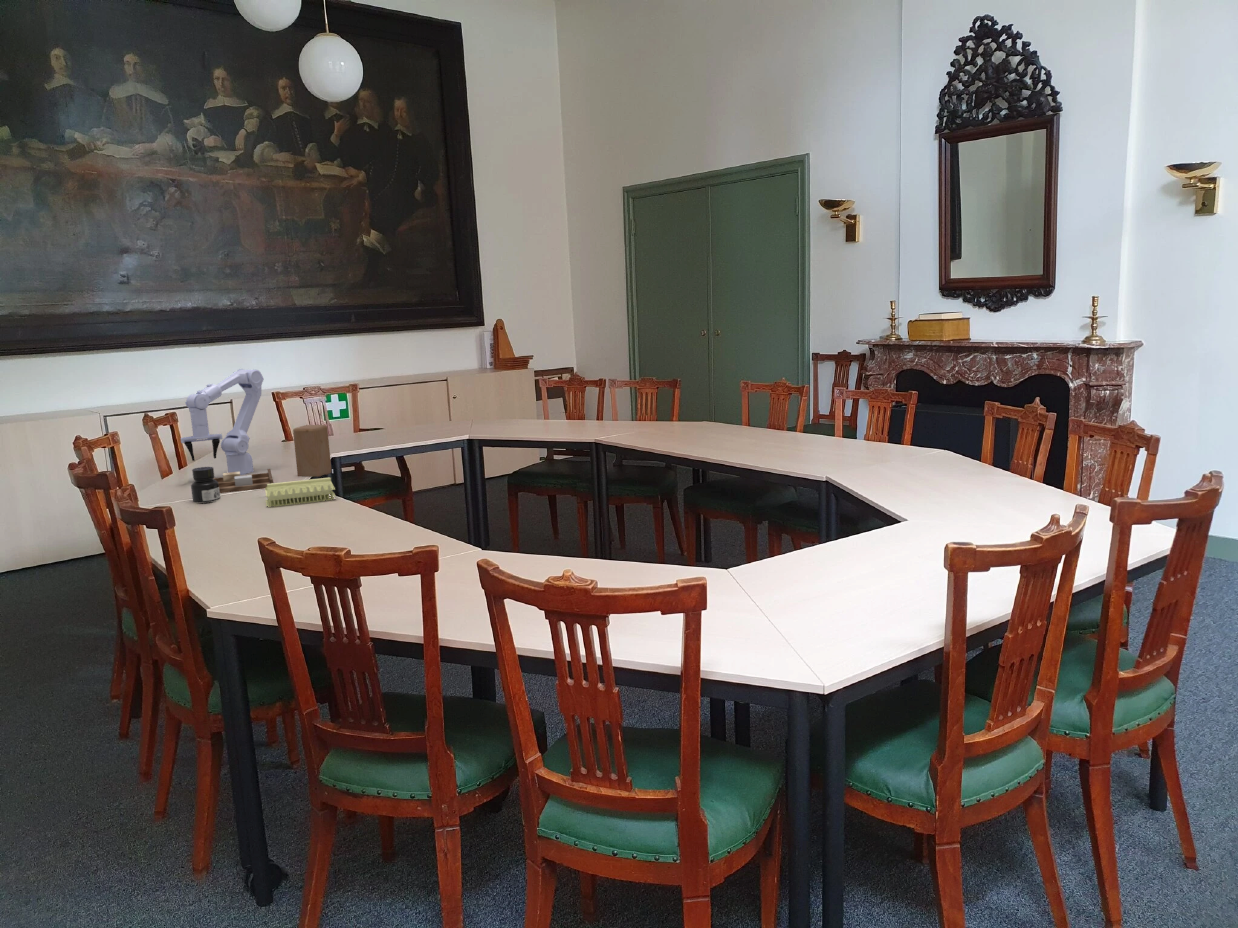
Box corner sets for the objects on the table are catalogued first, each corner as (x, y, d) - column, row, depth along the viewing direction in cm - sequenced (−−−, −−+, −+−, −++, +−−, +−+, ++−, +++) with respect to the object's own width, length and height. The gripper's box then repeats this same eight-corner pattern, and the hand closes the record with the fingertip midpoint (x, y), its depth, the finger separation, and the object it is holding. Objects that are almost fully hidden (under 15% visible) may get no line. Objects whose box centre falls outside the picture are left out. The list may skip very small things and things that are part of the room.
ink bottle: (209, 505, 305) (204, 471, 302) (186, 504, 307) (182, 471, 304) (226, 498, 314) (222, 466, 312) (204, 498, 316) (200, 465, 314)
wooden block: (319, 478, 344) (314, 428, 341) (296, 478, 346) (291, 428, 343) (332, 473, 354) (328, 424, 350) (310, 472, 356) (305, 424, 352)
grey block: (235, 489, 325) (234, 478, 324) (235, 486, 330) (234, 476, 329) (253, 487, 327) (251, 477, 327) (252, 485, 332) (251, 474, 331)
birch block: (203, 487, 329) (201, 474, 328) (203, 485, 334) (202, 471, 333) (241, 483, 335) (239, 470, 333) (240, 481, 339) (239, 468, 338)
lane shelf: (203, 497, 317) (202, 486, 317) (205, 484, 339) (203, 475, 338) (273, 489, 327) (272, 479, 326) (271, 477, 348) (270, 468, 348)
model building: (336, 493, 320) (334, 473, 318) (339, 500, 308) (338, 480, 306) (262, 501, 310) (260, 481, 309) (263, 509, 298) (261, 488, 297)
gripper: (219, 421, 345) (223, 455, 348) (178, 425, 338) (182, 460, 340) (221, 423, 339) (225, 458, 342) (179, 427, 332) (184, 462, 334)
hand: (204, 459), depth 341 cm, fingers open, 7 cm apart
